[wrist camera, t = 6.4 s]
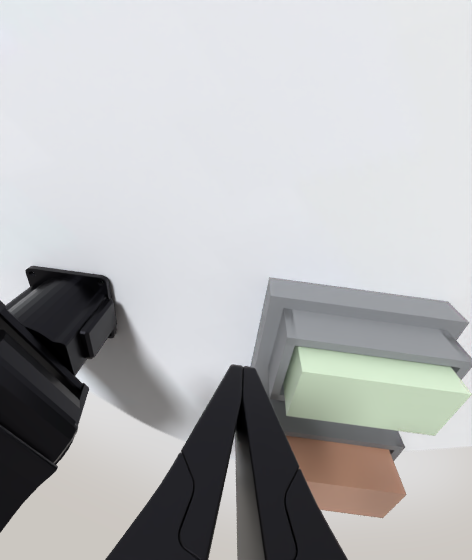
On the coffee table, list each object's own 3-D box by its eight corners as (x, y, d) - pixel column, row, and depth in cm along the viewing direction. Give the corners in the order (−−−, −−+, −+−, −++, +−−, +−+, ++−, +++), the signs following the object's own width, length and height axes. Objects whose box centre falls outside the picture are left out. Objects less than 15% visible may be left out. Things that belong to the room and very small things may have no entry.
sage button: (281, 368, 22) (286, 415, 18) (294, 326, 19) (302, 371, 16) (406, 385, 22) (434, 435, 18) (434, 345, 19) (471, 394, 16)
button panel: (240, 414, 31) (237, 468, 26) (269, 277, 21) (272, 323, 16) (364, 431, 31) (383, 488, 26) (448, 301, 21) (502, 354, 16)
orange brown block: (261, 450, 26) (261, 501, 22) (269, 423, 23) (271, 476, 20) (366, 464, 26) (382, 518, 22) (384, 439, 24) (406, 494, 20)
